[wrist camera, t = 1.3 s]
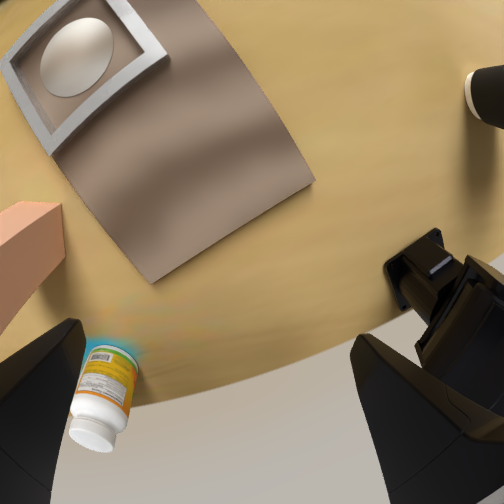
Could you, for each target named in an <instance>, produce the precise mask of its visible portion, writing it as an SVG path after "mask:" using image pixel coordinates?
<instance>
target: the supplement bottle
mask: <svg viewBox="0 0 504 504" xmlns="http://www.w3.org/2000/svg"><path fill="white" fill-rule="evenodd" d="M137 375H138V367H137V364H136V362H135V360H134V359H133V358H132V357H131V356H130V355H129V354H128V353H126V352H125V351H123V350H121V349H119V348H117V347H114V346H109V345H100V346H96V347H95V348H93V349H92V350H91V352H90V353H89V356H88V358H87V360H86V363H85V365H84V367H83V370H82V372H81V375H80V377H79V380H78V384H77V387H76V391H75V394H74V397H73V401H72V404H71V407H70V410H71V413H72V415H73V416H74V419H73V420H72V422H71V426H70V430H69V435H70V436H71V438H72V439H73V440H74V441H76V442H77V443H79V444H80V445H82V446H84V447H86V448H88V449H91V450H94V451H98V452H111V451H113V449H114V445H115V440H116V434H118V433H120V432H122V431H123V430H124V429H125V428H126V426H127V422H128V417H129V412H130V407H131V403H132V398H133V393H134V389H135V385H136V380H137Z"/></svg>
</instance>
